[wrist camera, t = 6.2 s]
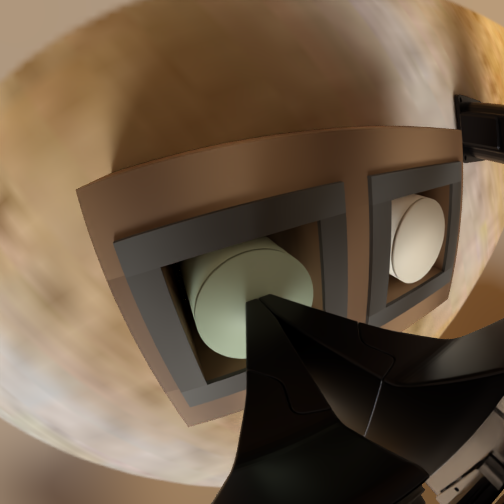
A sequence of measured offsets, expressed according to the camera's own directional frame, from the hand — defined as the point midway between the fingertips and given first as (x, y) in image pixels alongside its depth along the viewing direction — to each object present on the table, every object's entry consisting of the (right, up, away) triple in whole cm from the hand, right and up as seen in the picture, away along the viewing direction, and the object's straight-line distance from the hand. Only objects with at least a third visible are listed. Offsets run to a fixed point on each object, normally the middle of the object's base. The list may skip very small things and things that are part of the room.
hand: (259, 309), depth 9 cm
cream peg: (+5, +4, +7) cm, 10 cm away
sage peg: (-2, +2, +5) cm, 6 cm away
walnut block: (+2, +3, +6) cm, 7 cm away
